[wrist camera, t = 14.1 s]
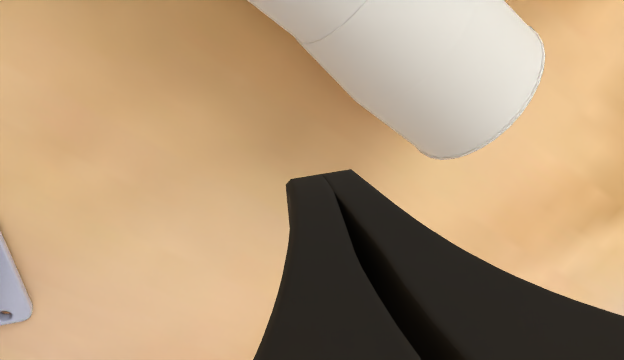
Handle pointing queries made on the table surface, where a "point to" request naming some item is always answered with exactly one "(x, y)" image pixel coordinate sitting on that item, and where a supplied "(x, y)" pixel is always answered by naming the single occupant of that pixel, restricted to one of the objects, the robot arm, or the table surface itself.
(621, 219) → the table surface
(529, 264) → the table surface
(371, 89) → the binoculars
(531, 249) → the table surface
